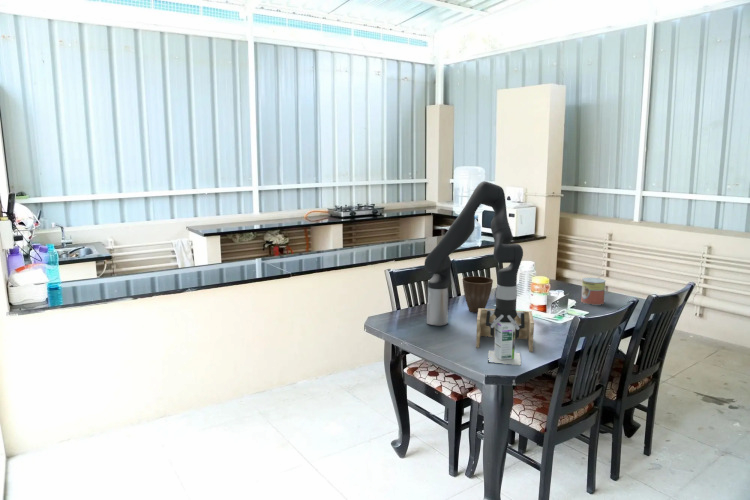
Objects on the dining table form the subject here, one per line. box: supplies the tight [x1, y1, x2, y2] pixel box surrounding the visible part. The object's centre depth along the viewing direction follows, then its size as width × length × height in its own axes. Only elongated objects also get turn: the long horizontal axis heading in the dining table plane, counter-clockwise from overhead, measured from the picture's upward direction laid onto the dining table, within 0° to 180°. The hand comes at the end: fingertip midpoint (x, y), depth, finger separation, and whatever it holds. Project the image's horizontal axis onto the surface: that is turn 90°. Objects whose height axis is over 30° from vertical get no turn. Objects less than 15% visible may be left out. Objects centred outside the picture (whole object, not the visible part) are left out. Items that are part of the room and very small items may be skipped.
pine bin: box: [475, 308, 535, 353], centre depth 216 cm, size 22×16×12 cm
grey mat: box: [487, 350, 522, 367], centre depth 201 cm, size 12×12×1 cm
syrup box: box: [493, 321, 516, 360], centre depth 200 cm, size 6×6×14 cm
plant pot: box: [461, 275, 494, 313], centre depth 262 cm, size 15×15×16 cm
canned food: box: [580, 277, 606, 306], centre depth 276 cm, size 11×11×12 cm
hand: (504, 337), depth 199 cm, fingers open, 8 cm apart
